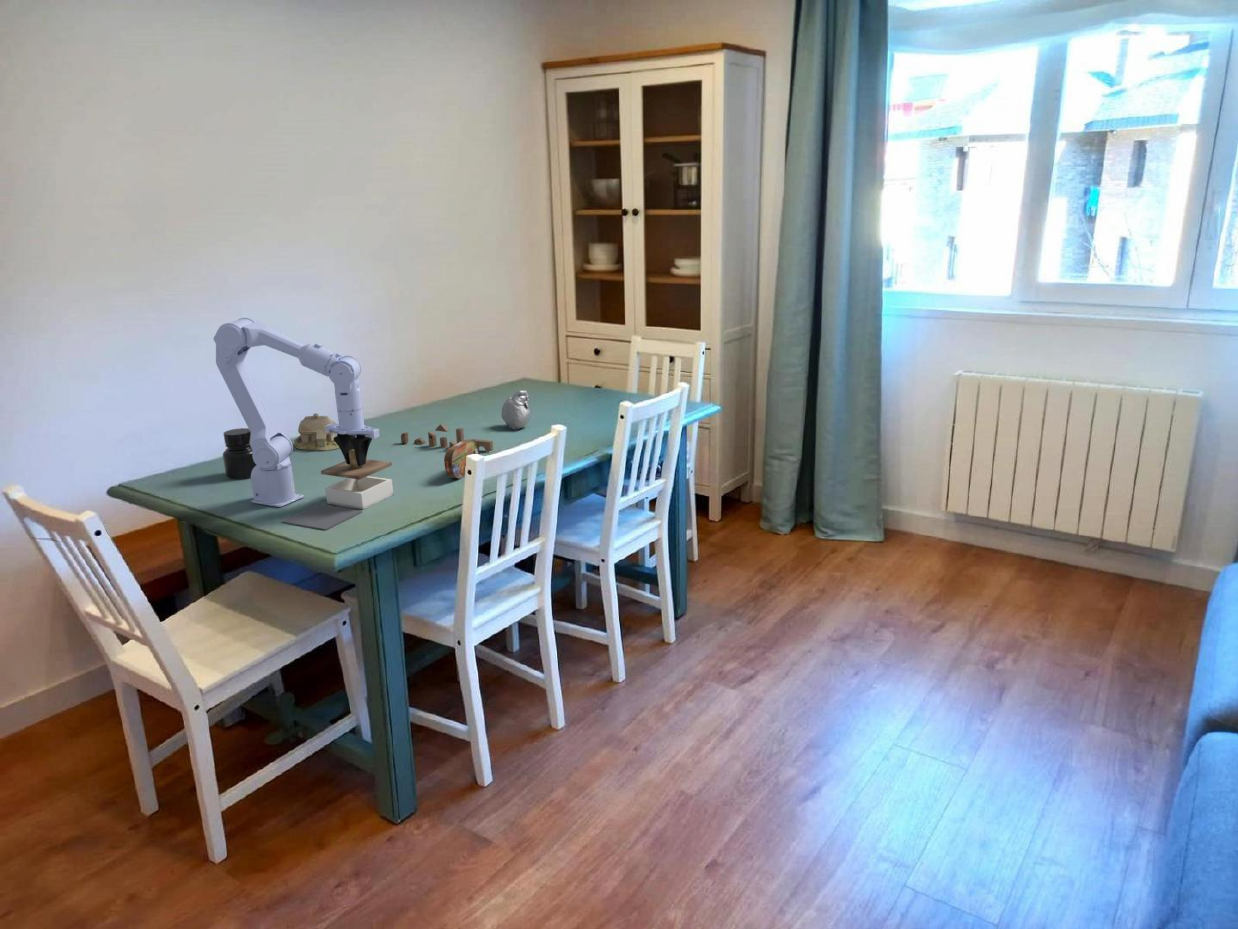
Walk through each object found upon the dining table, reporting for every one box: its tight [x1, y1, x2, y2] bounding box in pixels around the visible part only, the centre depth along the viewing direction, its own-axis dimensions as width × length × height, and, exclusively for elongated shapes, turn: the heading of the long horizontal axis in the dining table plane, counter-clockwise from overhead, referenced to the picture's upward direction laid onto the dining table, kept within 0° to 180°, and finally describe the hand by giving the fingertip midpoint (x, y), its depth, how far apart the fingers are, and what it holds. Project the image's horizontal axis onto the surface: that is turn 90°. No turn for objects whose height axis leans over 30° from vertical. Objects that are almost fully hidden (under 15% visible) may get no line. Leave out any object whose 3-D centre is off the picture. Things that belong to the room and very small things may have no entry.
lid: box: [320, 449, 393, 480], centre depth 207 cm, size 12×12×5 cm
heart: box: [500, 390, 531, 431], centre depth 269 cm, size 10×10×12 cm
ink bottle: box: [222, 427, 256, 480], centre depth 229 cm, size 10×9×12 cm
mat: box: [281, 503, 363, 531], centre depth 199 cm, size 13×12×1 cm
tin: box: [443, 438, 481, 480], centre depth 226 cm, size 15×3×8 cm, turn 161°
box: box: [324, 475, 394, 511], centre depth 209 cm, size 11×11×4 cm
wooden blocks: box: [400, 422, 494, 453], centre depth 251 cm, size 30×3×7 cm, turn 69°
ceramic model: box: [294, 413, 340, 451], centre depth 254 cm, size 14×11×10 cm
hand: (356, 464), depth 207 cm, fingers closed on lid, 3 cm apart
